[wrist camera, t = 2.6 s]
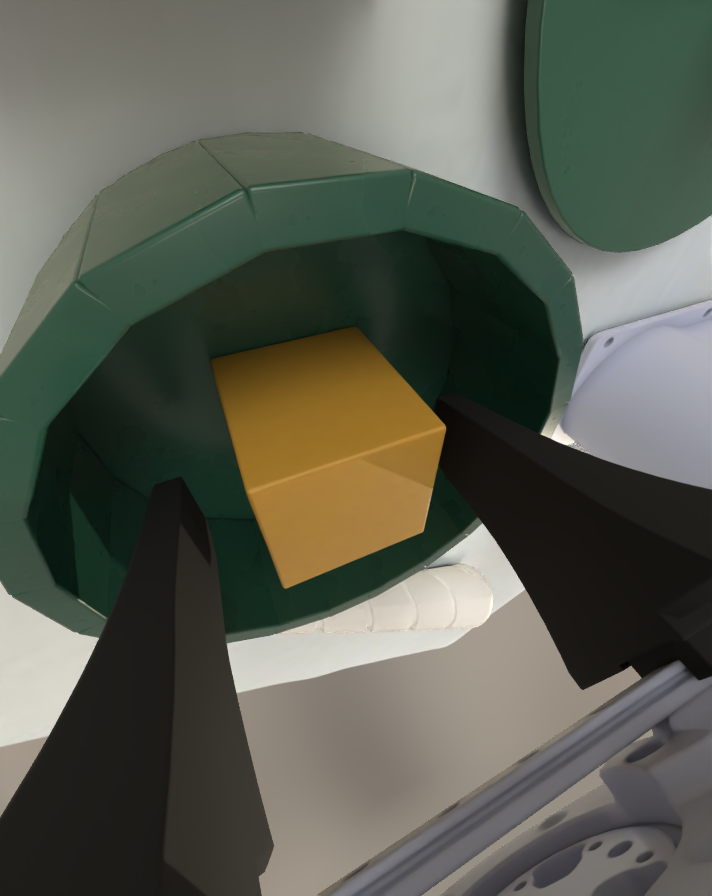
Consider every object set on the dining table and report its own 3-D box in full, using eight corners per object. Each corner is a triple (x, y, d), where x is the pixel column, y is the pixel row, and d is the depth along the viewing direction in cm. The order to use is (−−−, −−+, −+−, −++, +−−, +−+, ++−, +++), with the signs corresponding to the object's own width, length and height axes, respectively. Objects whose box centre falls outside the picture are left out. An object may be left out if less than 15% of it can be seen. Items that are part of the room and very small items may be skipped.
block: (356, 324, 11) (448, 426, 8) (358, 429, 14) (424, 532, 11) (208, 357, 10) (245, 493, 7) (246, 464, 13) (283, 590, 10)
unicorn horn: (174, 569, 16) (185, 686, 13) (472, 552, 31) (509, 605, 28) (147, 625, 18) (151, 737, 15) (438, 584, 33) (470, 636, 30)
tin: (506, 114, 9) (710, 136, 6) (434, 461, 19) (497, 542, 16) (-174, 161, 6) (-570, 274, 3) (162, 559, 15) (171, 688, 12)
